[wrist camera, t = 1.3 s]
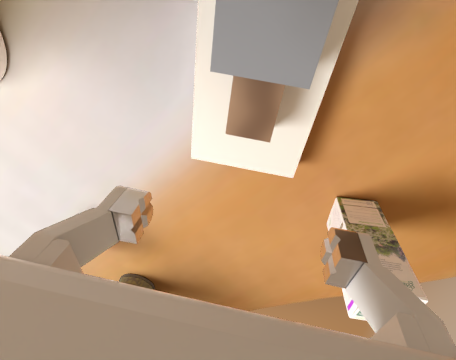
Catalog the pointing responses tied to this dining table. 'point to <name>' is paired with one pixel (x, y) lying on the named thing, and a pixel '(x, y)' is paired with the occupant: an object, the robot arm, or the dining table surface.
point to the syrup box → (382, 239)
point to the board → (287, 113)
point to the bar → (253, 108)
